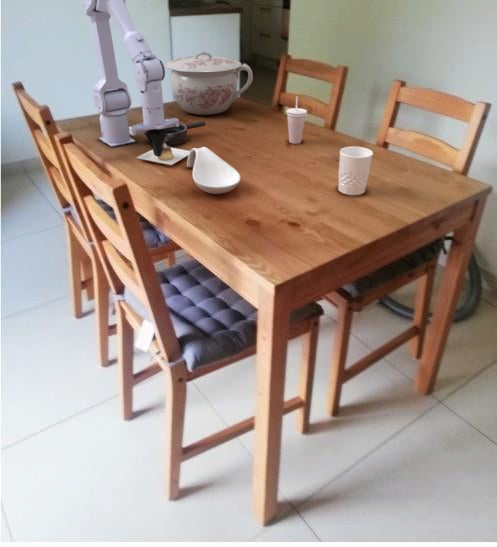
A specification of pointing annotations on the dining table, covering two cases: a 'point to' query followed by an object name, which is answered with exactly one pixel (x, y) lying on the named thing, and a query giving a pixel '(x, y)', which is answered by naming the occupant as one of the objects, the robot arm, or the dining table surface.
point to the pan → (175, 135)
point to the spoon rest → (212, 171)
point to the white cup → (354, 170)
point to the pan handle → (195, 125)
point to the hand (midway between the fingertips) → (157, 155)
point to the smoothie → (296, 123)
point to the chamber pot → (206, 82)
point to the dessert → (165, 155)
